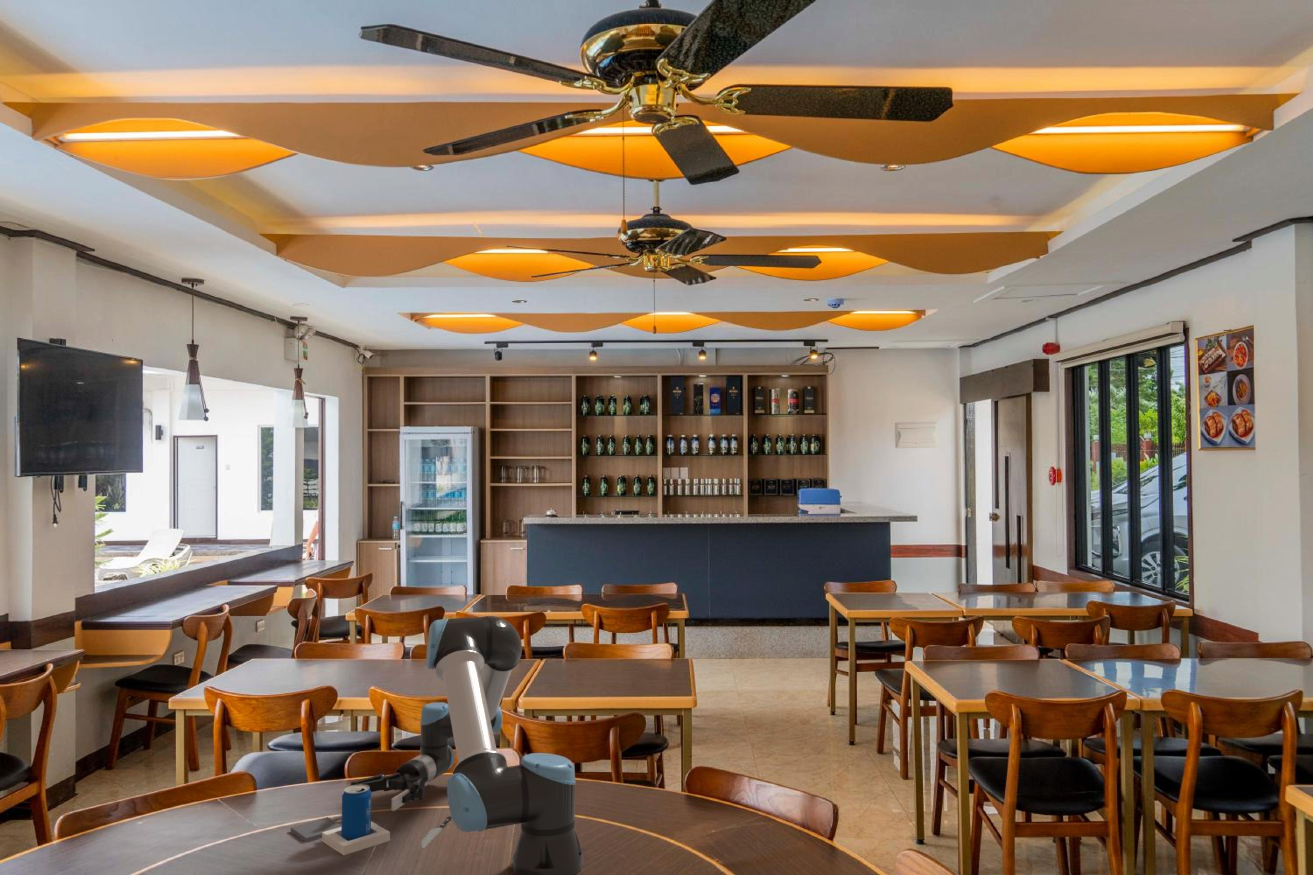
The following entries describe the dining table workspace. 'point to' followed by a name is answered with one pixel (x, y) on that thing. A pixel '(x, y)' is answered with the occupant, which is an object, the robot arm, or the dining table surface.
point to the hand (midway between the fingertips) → (367, 801)
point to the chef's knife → (434, 833)
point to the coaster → (314, 829)
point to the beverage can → (356, 812)
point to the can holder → (351, 846)
